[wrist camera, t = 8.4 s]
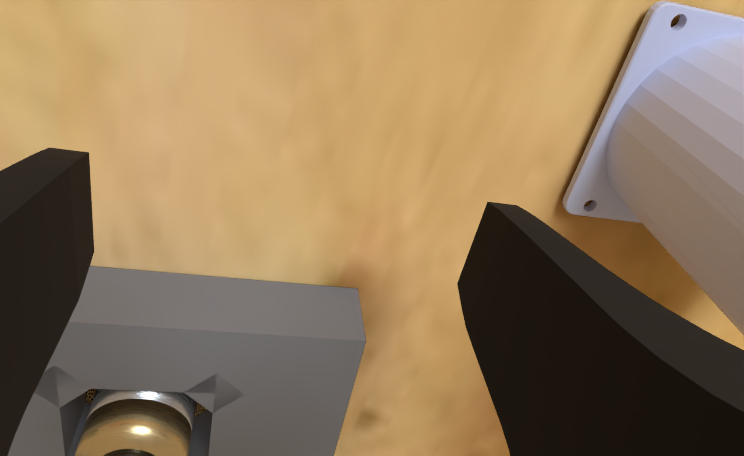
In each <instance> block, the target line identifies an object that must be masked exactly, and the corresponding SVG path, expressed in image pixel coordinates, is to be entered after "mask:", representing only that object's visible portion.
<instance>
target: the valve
mask: <svg viewBox="0 0 744 456" xmlns="http://www.w3.org/2000/svg"><path fill="white" fill-rule="evenodd" d="M195 409H196V401H195V400H193V399H192V398H191V397H189V396H188V395H186V394H185V393H184V392H161V391H137V390H113V389H96V392H95V395H94V398H93V401H92V404H91V407H90V410H89V413H88V416H87V419H86V422H85V426H84V429H83V432H82V435H81V438H80V441H79V444H78V447H77V450H76V453H75V456H189V449H190V442H191V436H192V429H193V422H194V416H195Z"/></svg>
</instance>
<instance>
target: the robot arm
mask: <svg viewBox="0 0 744 456" xmlns="http://www.w3.org/2000/svg"><path fill="white" fill-rule="evenodd" d="M678 14H679V15H680V18H679V21H678V23H677V24H676V25H675V26H673V27H671V26H670V25H671V21H672V20H673V18H674V17H675V16H677V15H678ZM589 200H592V202H591V203H590V204H589V205H587V206H584V205H585V203H586V202H588V201H589ZM562 203H563V207H564V208H565V209H566V211H567V212H568V213H570V214H572V215H580V216H588V217H596V218H604V219H612V220H621V221H629V222H637V223H642V224H643V225H644V226H645V227H646V228H647V229H648V230H649V232H650V233H651V234H652V235H653V236H654V237H655V238H656V239H657V240H658V242H659V243H660V244H661V245H662V246H663V247H664V248H665V249H666V250H667V251H668V253H669V254H670V255H671V256H672V257H673V258H674V259H675V260H676V261H677V262H678V264H679V265H680V266H681V267H682V268H683V269H684V270H685V271H686V272H687V273H688V275H689V276H690V277H691V278H692V279H693V280H694V281H695V282H696V283H697V285H698V286H699V287H700V288H701V289H702V290H703V291H704V292H705V293H706V294H707V296H708V297H709V298H710V299H711V300H712V301H713V302H714V303H715V304H716V305H717V307H718V308H719V309H720V310H721V311H722V312H723V313H724V314H725V315H726V316H727V318H728V319H729V320H730V321H731V322H732V323H733V324H734V325H735V326H736V327H737V329H738V330H739V331H740V332H741V333H742V334H743V335H744V18H742V17H738V16H733V15H729V14H724V13H720V12H715V11H710V10H706V9H701V8H697V7H692V6H688V5H683V4H679V3H674V2H670V1H660V2H657V3H655V4H654V5H653V6H652V7H650V9H649V10H648V12H647V13H646V15H645V17H644V20H643V22H642V24H641V26H640V29H639V31H638V33H637V35H636V38H635V40H634V42H633V44H632V46H631V49H630V51H629V53H628V55H627V58H626V60H625V62H624V64H623V66H622V69H621V71H620V73H619V75H618V78H617V80H616V82H615V84H614V86H613V89H612V91H611V93H610V95H609V98H608V100H607V102H606V104H605V107H604V109H603V111H602V113H601V115H600V118H599V120H598V122H597V124H596V127H595V129H594V131H593V133H592V135H591V138H590V140H589V142H588V144H587V147H586V149H585V151H584V153H583V155H582V158H581V160H580V162H579V164H578V167H577V169H576V171H575V173H574V176H573V178H572V180H571V182H570V184H569V187H568V189H567V191H566V193H565V196H564V198H563V202H562ZM93 253H94V240H93V221H92V202H91V183H90V165H89V153H88V152H80V151H72V150H64V149H56V148H47V149H45V150H42V151H40V152H38V153H35V154H33V155H31V156H29V157H27V158H25V159H23V160H21V161H19V162H17V163H15V164H13V165H11V166H9V167H7V168H5V169H3V170H2V171H0V456H8V453H9V450H10V447H11V445H12V442H13V439H14V436H15V434H16V431H17V429H18V427H19V424H20V422H21V420H22V417H23V415H24V413H25V410H26V408H27V406H28V404H29V402H30V400H31V398H32V396H33V394H34V392H35V390H36V388H37V386H38V383H39V381H40V379H41V377H42V375H43V373H44V371H45V369H46V367H47V365H48V363H49V361H50V359H51V357H52V355H53V353H54V351H55V349H56V347H57V345H58V343H59V340H60V338H61V336H62V334H63V332H64V330H65V328H66V326H67V324H68V322H69V320H70V318H71V315H72V313H73V311H74V309H75V307H76V305H77V303H78V301H79V298H80V295H81V292H82V289H83V286H84V283H85V280H86V277H87V273H88V270H89V266H90V263H91V260H92V256H93ZM457 284H458V290H459V295H460V301H461V306H462V311H463V316H464V320H465V325H466V329H467V332H468V334H469V337H470V340H471V343H472V346H473V349H474V352H475V354H476V357H477V360H478V363H479V366H480V368H481V371H482V374H483V376H484V379H485V382H486V385H487V387H488V390H489V393H490V396H491V398H492V401H493V404H494V406H495V409H496V412H497V415H498V417H499V420H500V423H501V426H502V429H503V432H504V435H505V438H506V442H507V445H508V448H509V452H510V456H744V350H742V349H740V348H738V347H736V346H734V345H732V344H730V343H728V342H726V341H724V340H722V339H720V338H718V337H716V336H714V335H712V334H711V333H709V332H707V331H705V330H703V329H701V328H700V327H698V326H696V325H694V324H693V323H691V322H689V321H687V320H686V319H684V318H682V317H680V316H679V315H677V314H675V313H674V312H672V311H670V310H668V309H667V308H665V307H663V306H662V305H660V304H659V303H657V302H655V301H654V300H652V299H651V298H649V297H647V296H646V295H644V294H643V293H641V292H640V291H638V290H637V289H635V288H634V287H632V286H631V285H629V284H628V283H627V282H625V281H624V280H622V279H621V278H619V277H618V276H616V275H615V274H613V273H612V272H611V271H609V270H608V269H606V268H605V267H603V266H602V265H601V264H599V263H598V262H597V261H595V260H594V259H592V258H591V257H590V256H588V255H587V254H586V253H584V252H583V251H582V250H580V249H579V248H578V247H576V246H575V245H574V244H572V243H571V242H569V241H568V240H567V239H565V238H564V237H563V236H561V235H560V234H559V233H557V232H556V231H555V230H553V229H552V228H551V227H549V226H548V225H546V224H545V223H544V222H542V221H541V220H539V219H538V218H536V217H535V216H533V215H532V214H530V213H529V212H527V211H526V210H524V209H522V208H520V207H519V206H517V205H509V204H501V203H493V202H487V205H486V208H485V210H484V213H483V216H482V219H481V221H480V224H479V227H478V229H477V232H476V235H475V237H474V240H473V243H472V246H471V248H470V251H469V254H468V256H467V259H466V262H465V264H464V267H463V270H462V273H461V275H460V278H459V281H458V283H457Z"/></svg>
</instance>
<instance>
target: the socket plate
mask: <svg viewBox="0 0 744 456" xmlns="http://www.w3.org/2000/svg"><path fill="white" fill-rule="evenodd" d="M365 343H366V337H365V331H364V325H363V319H362V312H361V306H360V300H359V294H358V289H356V288H344V287H332V286H320V285H308V284H297V283H285V282H273V281H261V280H249V279H237V278H225V277H213V276H201V275H189V274H178V273H166V272H154V271H142V270H130V269H118V268H106V267H94V266H89V270H88V273H87V277H86V280H85V283H84V286H83V289H82V292H81V295H80V298H79V301H78V303H77V305H76V307H75V309H74V311H73V313H72V315H71V318H70V320H69V322H68V324H67V326H66V328H65V330H64V332H63V334H62V336H61V338H60V340H59V343H58V345H57V347H56V349H55V351H54V353H53V355H52V357H51V359H50V361H49V363H48V365H47V367H46V369H45V371H44V373H43V375H42V377H41V379H40V381H39V383H38V386H37V388H36V390H35V392H34V394H33V396H32V398H31V400H30V402H29V404H28V406H27V408H26V410H25V413H24V415H23V417H22V420H21V422H20V424H19V427H18V429H17V431H16V434H15V436H14V439H13V442H12V445H11V447H10V450H9V453H8V456H75V453H76V450H77V447H78V444H79V441H80V438H81V435H82V432H83V429H84V426H85V422H86V419H87V416H88V413H89V410H90V407H91V404H90V403H88V402H87V401H86V393H85V392H86V391H88V390H90V389H113V390H137V391H161V392H184V393H185V394H186V395H188V396H189V397H191V398H192V399H193V400H195V401H196V402H198V403H199V404H200V405H202V406H203V407H205V408H206V409H207V410H206V411H205V412H203V413H201V414H199V415H198V416H196V417H194V422H193V429H192V436H191V442H190V449H189V456H334V453H335V449H336V446H337V442H338V439H339V435H340V432H341V428H342V424H343V421H344V417H345V414H346V410H347V407H348V403H349V400H350V396H351V393H352V389H353V385H354V382H355V378H356V375H357V371H358V368H359V364H360V361H361V357H362V354H363V350H364V347H365Z"/></svg>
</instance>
